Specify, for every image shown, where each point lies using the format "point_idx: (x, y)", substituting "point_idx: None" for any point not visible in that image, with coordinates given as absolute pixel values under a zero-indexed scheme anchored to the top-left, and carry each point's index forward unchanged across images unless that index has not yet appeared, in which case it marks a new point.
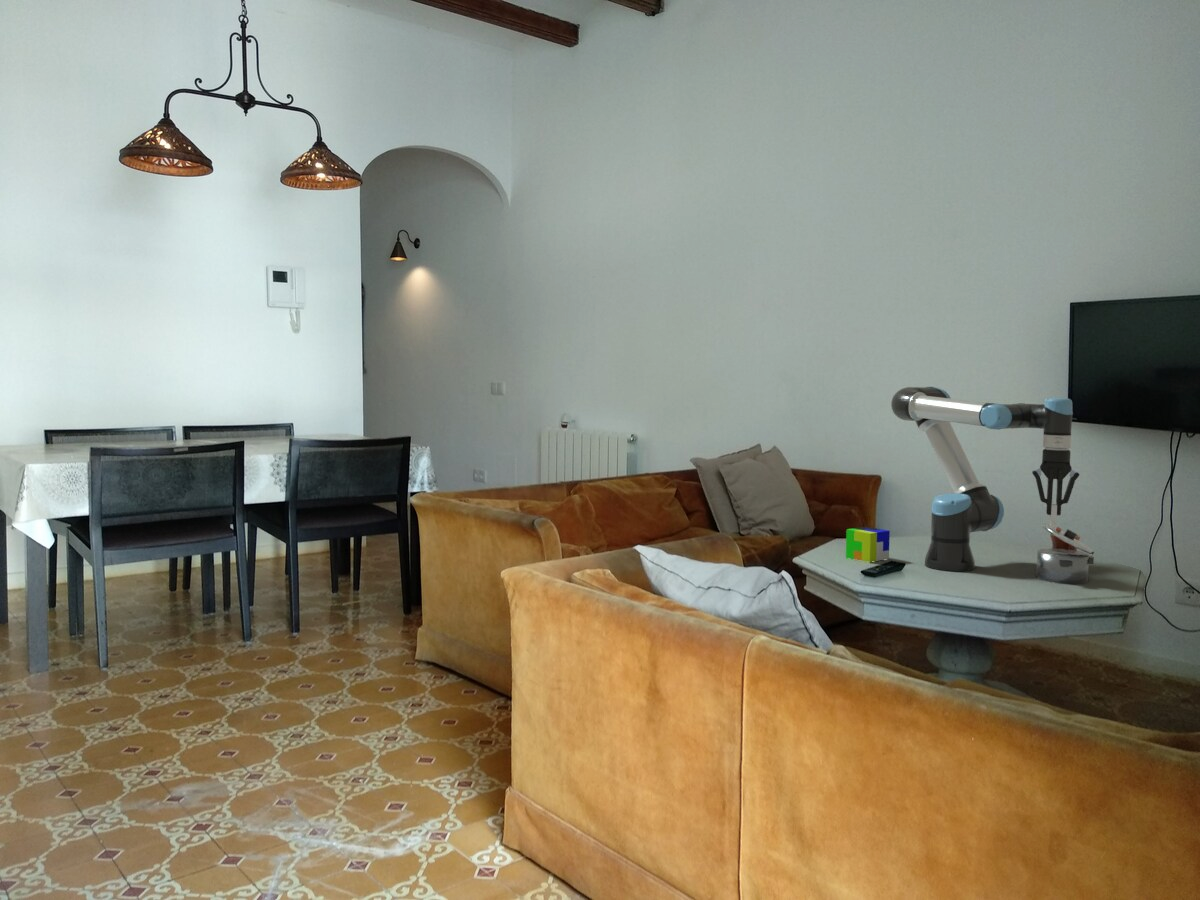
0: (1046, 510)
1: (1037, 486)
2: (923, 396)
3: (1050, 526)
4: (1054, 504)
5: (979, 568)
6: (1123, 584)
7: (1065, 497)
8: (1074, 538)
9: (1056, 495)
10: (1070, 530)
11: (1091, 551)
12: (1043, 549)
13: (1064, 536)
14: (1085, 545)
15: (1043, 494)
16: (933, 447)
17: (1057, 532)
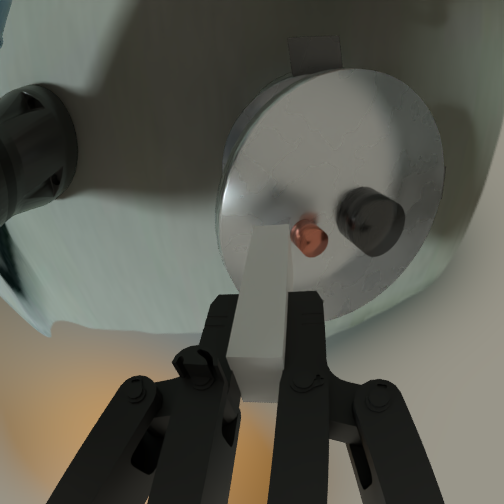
0: (207, 320)
1: (58, 501)
2: None
3: (259, 169)
4: (265, 376)
5: (83, 117)
6: (471, 160)
7: (357, 470)
8: (398, 86)
9: (272, 460)
10: (380, 207)
11: (427, 230)
12: (244, 126)
13: (332, 280)
14: (431, 142)
15: (153, 473)
16: None
17: (299, 284)
